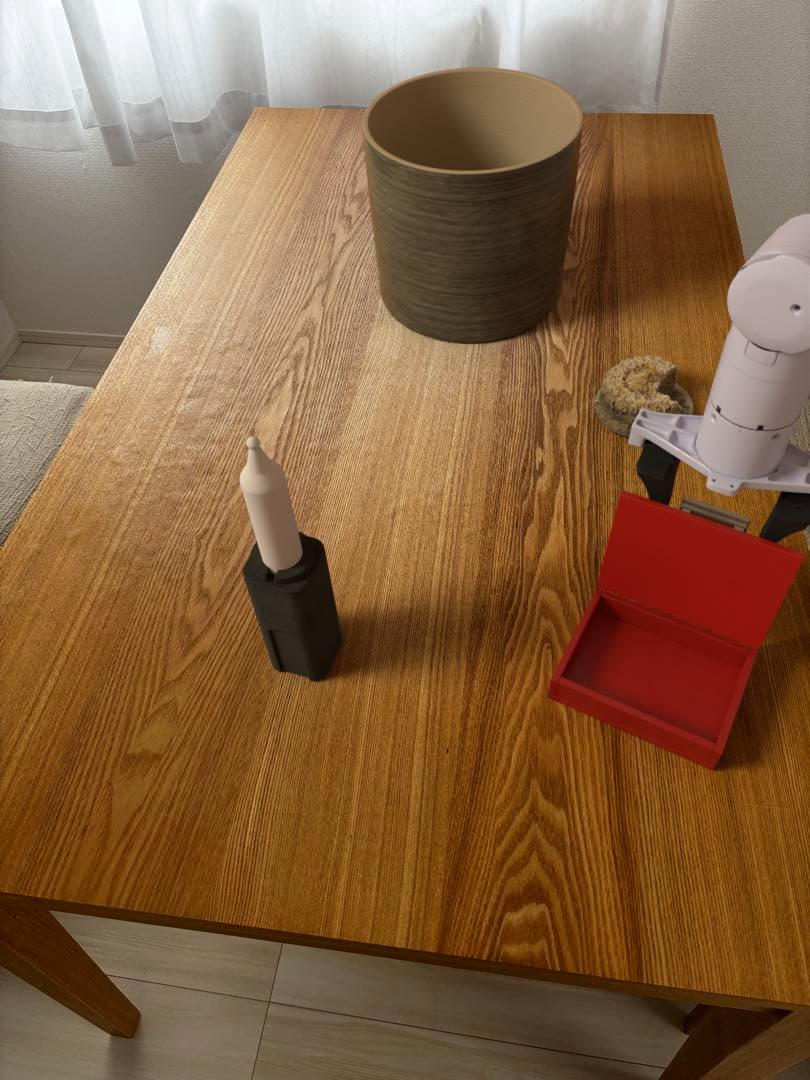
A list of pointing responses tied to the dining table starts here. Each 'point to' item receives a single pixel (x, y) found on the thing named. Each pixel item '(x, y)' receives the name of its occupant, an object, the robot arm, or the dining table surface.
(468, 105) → the planter
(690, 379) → the dining table surface
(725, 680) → the red box base
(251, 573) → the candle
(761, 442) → the robot arm
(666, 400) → the cake
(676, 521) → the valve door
